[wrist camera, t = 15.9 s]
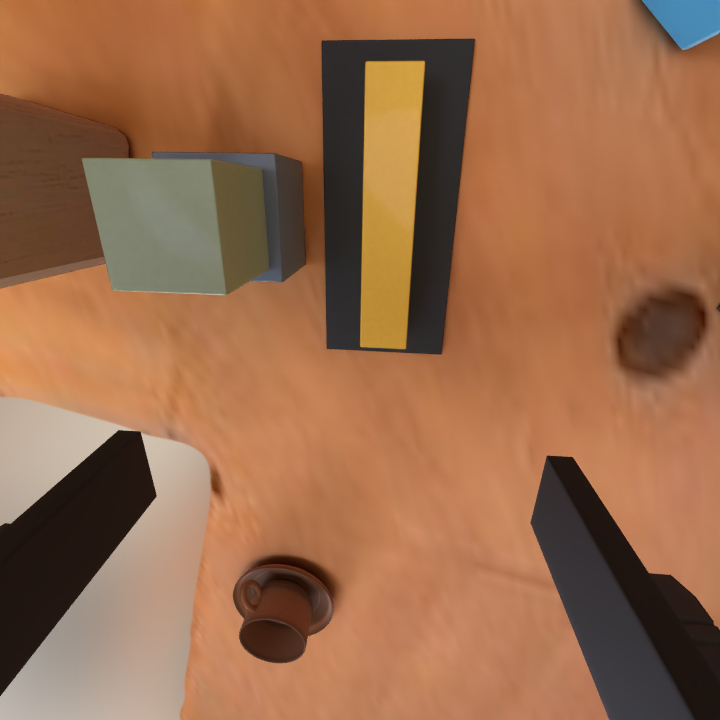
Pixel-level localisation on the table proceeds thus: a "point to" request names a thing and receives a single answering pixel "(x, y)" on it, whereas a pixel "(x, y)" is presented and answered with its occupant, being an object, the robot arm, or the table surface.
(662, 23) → the data package
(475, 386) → the table surface
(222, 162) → the tower
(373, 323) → the bar
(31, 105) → the block
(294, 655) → the cup and saucer
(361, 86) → the mat
